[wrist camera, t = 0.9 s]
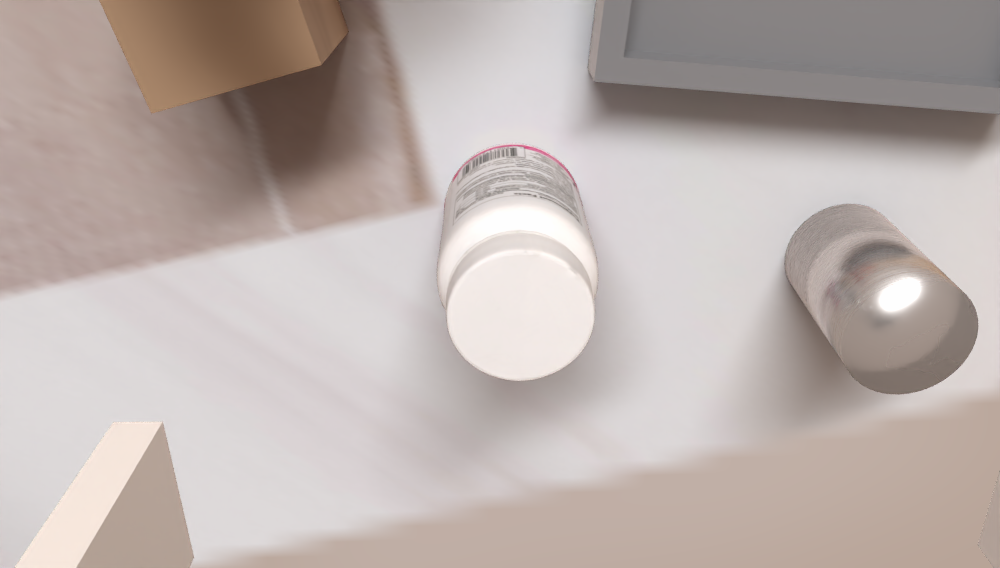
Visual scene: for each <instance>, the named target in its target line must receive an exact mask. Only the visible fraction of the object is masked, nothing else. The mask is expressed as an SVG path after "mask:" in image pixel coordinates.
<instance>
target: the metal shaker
mask: <svg viewBox="0 0 1000 568" xmlns="http://www.w3.org/2000/svg"><path fill="white" fill-rule="evenodd" d="M785 271H786V274H787V277H788V280H789V282H790V283H791V285H792V286H793V288H794V289H795V291H796V292H797V294H798V296H799V297H800V299H801V300H802V302H803V303H804V305H805V306H806V308H807V309H808V311H809V312H810V314H811V315H812V317H813V318H814V320H815V321H816V323H817V324H818V326H819V327H820V329H821V330H822V332H823V333H824V335H825V336H826V338H827V339H828V341H829V342H830V344H831V345H832V347H833V348H834V350H835V351H836V353H837V354H838V356H839V357H840V359H841V361H842V362H843V364H844V365H845V367H846V368H847V370H848V371H849V373H850V374H851V375H852V377H853V378H854V379H855V380H856V381H858V382H859V383H860V384H861V385H863V386H865V387H867V388H869V389H871V390H874V391H877V392H881V393H886V394H907V393H913V392H917V391H921V390H924V389H927V388H929V387H931V386H934V385H936V384H938V383H939V382H941V381H943V380H944V379H946V378H947V377H949V376H950V375H951V374H952V373H954V372H955V371H956V370H957V369H958V368H959V367H960V366H961V365H962V364H963V362H964V361H965V360H966V359H967V357H968V356H969V354H970V352H971V351H972V348H973V346H974V344H975V341H976V338H977V333H978V317H977V313H976V310H975V307H974V305H973V303H972V302H971V300H970V299H969V298H968V296H967V295H966V294H965V293H964V292H963V291H962V290H961V289H960V288H959V287H958V286H956V285H955V284H954V283H953V282H952V281H951V280H950V279H949V278H948V277H947V276H946V275H945V274H944V273H943V272H942V271H941V270H940V269H939V268H938V267H937V266H936V265H935V264H934V263H933V262H932V261H930V260H929V259H928V258H927V257H926V256H925V255H924V254H923V253H922V252H921V251H920V250H919V249H918V248H917V247H916V246H915V245H914V244H913V243H912V242H911V241H910V240H909V239H908V238H907V237H905V236H904V235H903V234H902V233H901V232H900V231H899V230H898V229H897V228H896V227H895V226H894V225H893V224H892V223H891V222H890V221H889V220H888V219H887V218H886V217H885V216H883V215H882V214H881V213H880V212H878V211H877V210H875V209H873V208H870V207H868V206H864V205H859V204H841V205H836V206H832V207H829V208H826V209H824V210H822V211H820V212H818V213H816V214H814V215H813V216H811V217H810V218H809V219H807V220H806V221H805V222H804V223H803V224H802V225H801V226H800V227H799V228H798V229H797V231H796V232H795V233H794V235H793V236H792V238H791V240H790V242H789V244H788V247H787V250H786V255H785Z"/></svg>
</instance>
